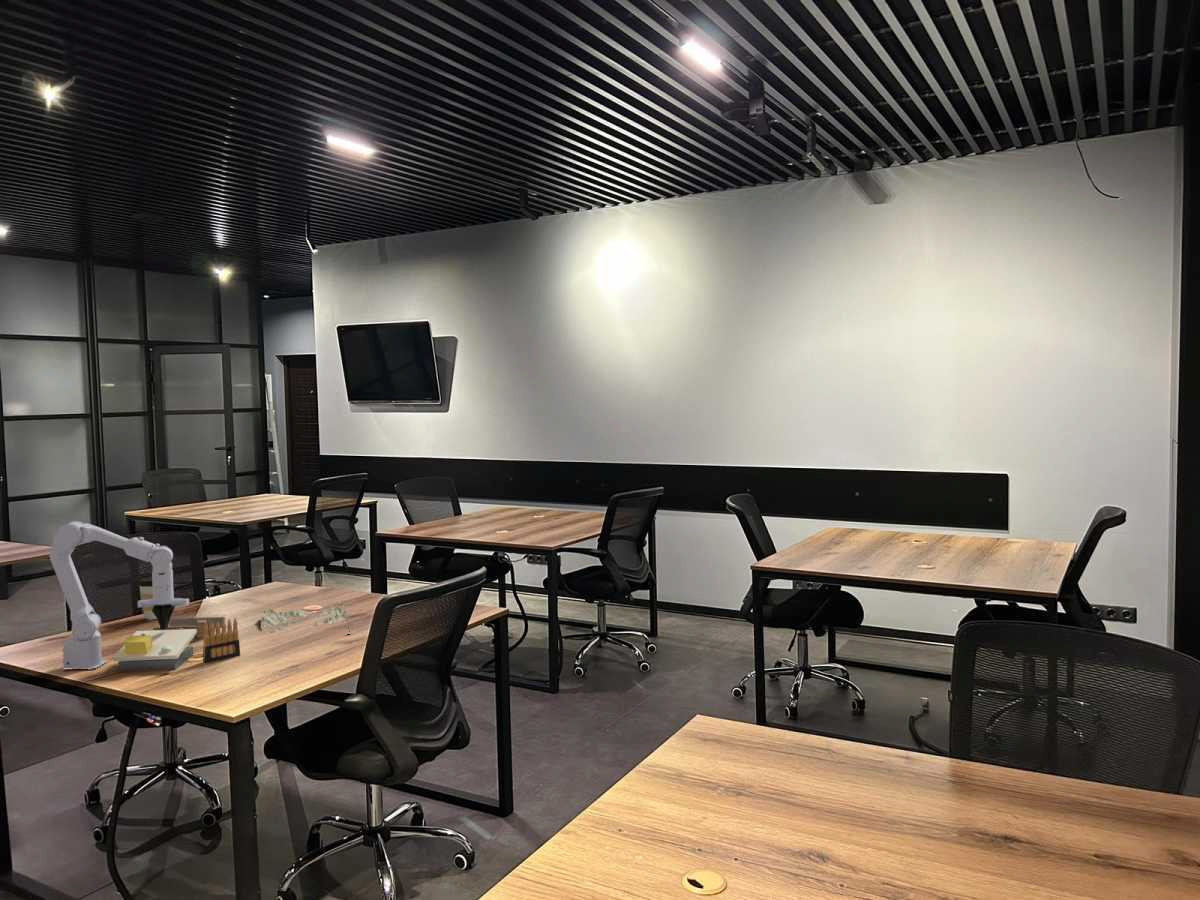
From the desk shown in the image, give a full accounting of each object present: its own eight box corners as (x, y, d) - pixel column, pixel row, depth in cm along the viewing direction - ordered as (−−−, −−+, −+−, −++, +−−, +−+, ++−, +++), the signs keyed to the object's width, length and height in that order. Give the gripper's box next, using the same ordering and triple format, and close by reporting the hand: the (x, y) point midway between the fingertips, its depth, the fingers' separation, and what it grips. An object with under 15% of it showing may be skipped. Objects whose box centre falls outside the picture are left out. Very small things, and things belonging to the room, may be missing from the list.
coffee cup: (174, 615, 314) (173, 576, 314) (158, 621, 304) (156, 581, 304) (150, 615, 315) (149, 576, 315) (133, 621, 306) (131, 581, 305)
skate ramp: (244, 624, 302) (244, 604, 302) (205, 651, 267) (204, 628, 267) (162, 626, 300) (161, 606, 300) (111, 654, 265) (110, 630, 265)
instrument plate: (113, 661, 243) (110, 645, 242) (137, 634, 259) (134, 619, 257) (177, 658, 245) (175, 643, 244) (196, 632, 260) (194, 617, 259)
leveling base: (118, 671, 244) (118, 655, 244) (140, 658, 258) (139, 642, 258) (175, 669, 246) (174, 653, 246) (193, 656, 260) (192, 640, 260)
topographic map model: (351, 636, 284) (350, 622, 284) (258, 645, 274) (258, 630, 273) (344, 613, 317) (344, 600, 317) (262, 621, 307) (261, 607, 307)
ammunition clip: (205, 663, 252) (204, 624, 252) (202, 662, 254) (201, 623, 253) (240, 655, 260) (239, 618, 260) (238, 654, 261) (236, 617, 261)
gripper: (192, 582, 262) (193, 624, 262) (144, 584, 260) (145, 626, 261) (183, 587, 255) (184, 630, 255) (133, 588, 253) (135, 632, 254)
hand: (164, 629), depth 257 cm, fingers closed
